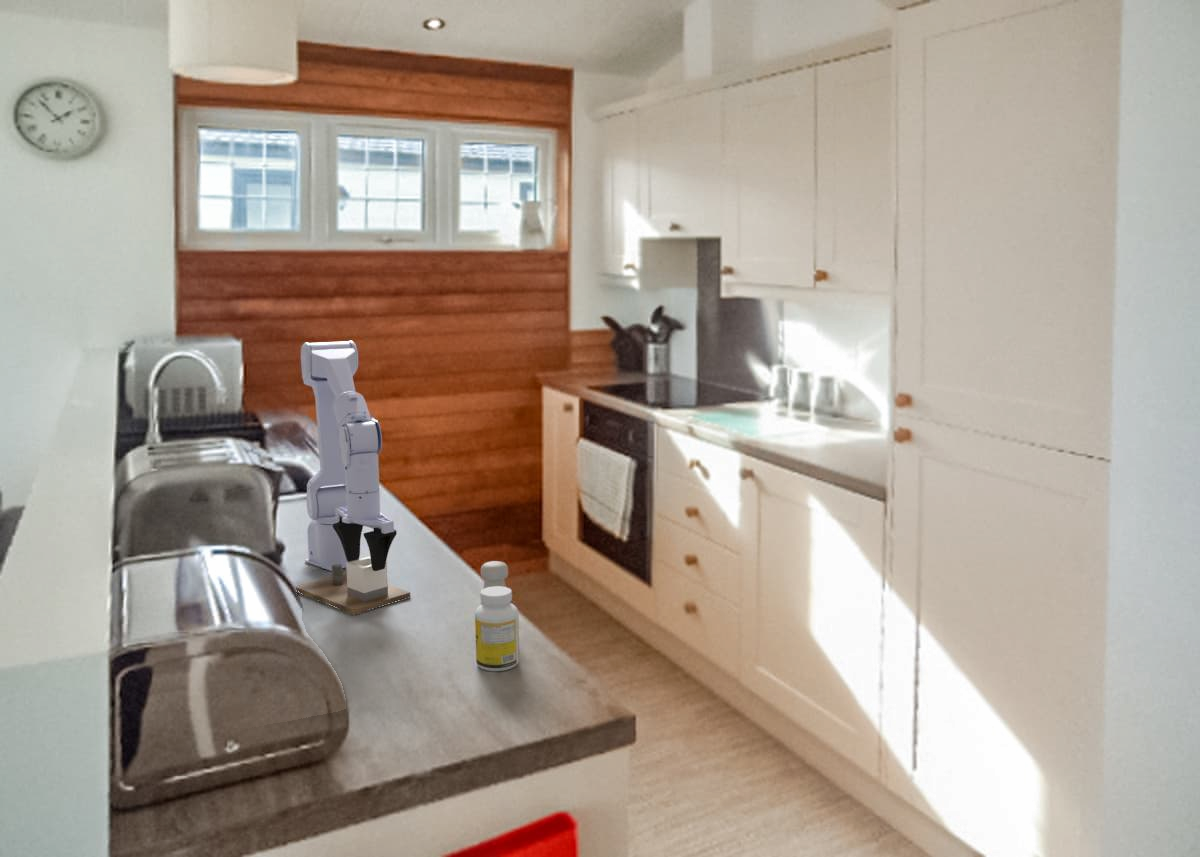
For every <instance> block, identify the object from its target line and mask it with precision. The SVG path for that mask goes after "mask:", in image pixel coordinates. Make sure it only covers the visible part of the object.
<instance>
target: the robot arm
mask: <svg viewBox="0 0 1200 857" xmlns="http://www.w3.org/2000/svg"><path fill="white" fill-rule="evenodd" d="M357 347H358V346H357V345H356V343H355V342H354V341H353V340H352V339H351V340H348V341H347V340H346V341H327V342H326V341H324V342H308V341H307V342H306V341H305V342H304V343H303V344H302V346H301V348H300V365H301V367H300V368H301V378H302V380H303V384H304V385H306V386H308V387H311V388H312V390H313V391H312V392H313V396H314V398H315V399H314V400H315V413H316V427H317V442H318V454H319V455H318V456H319V457H318V458H319V466H320V467H319V469H320V470H318V472H316V473H315V474H314V475H313V476H312V477H311V478H309V480H308V482H307V484H306V496H305V497H306V501H305V502H306V509H307V515H308V517H309V518H310V519H311V521H310V522H309V525H308V527H307V530H306V531H307V533H306V536H307V550H308V558H305V559H304V562H305V563H307V564H311V565H313V566H315V567H316V566H317V567H318V568H321V569H325V570H327V571H330V572H332V565H336V564H340V565H342V569H347V567H346V563H347V562H351V561H354V560H358V559H362V558H361V557H360V554H361V538H362V532H363V529H364V527H367V528H370V529H373V530H372V531H367V532H364V533H363V537H364V539H365V542H366V543H367V547H368V550H369V556H370V557H371V565H372V569H373V571H378V570H382V569H385V565H386V562H387V559H388V555H389V551H390V548H391V546H392V543H393V541H394V539H395V537H396V536H397V529H395V527H394V526H395V523H394V521H395V520H391V519H389V517H387V516H385V515H384V514H383V513H382V512H381V500H380V498H381V497H380V496H381V494H380V472H379V470H380V468H379V454H380V453H381V452H382V449H383V436H382V434H383V433H382V430H381V429H382V428H381V426H380V423H379V421H378V419H375V417H371V413H370V411H369V408H368V404H367V402H366V400H365V397H364V395H362V394H361V393H360V392H357V391H356V387H355V384H354V383H355V382H354V378H353V377H354V376H355V374H356V372H357V370H358V368H359V352H358V348H357Z"/></svg>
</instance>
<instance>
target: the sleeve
mask: <svg viewBox="0 0 1200 857" xmlns="http://www.w3.org/2000/svg"><path fill="white" fill-rule="evenodd" d="M387 563H388V562H387V561H386V565H385V569H382V570H378V571H373V569H372V565H371V557H370V555H369V556H366V557H365V556H364V557H362V558H361V559H358V560H354V561H351V562H347V563H346V573H347V589H348V595H349V596H351V597H354V598H357V599H359V600H362V601H368V600H371V599H375V598H378V597H381V596H384V595H388V585H389V584H388V583H389V582H388V564H387Z"/></svg>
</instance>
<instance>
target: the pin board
mask: <svg viewBox="0 0 1200 857" xmlns="http://www.w3.org/2000/svg"><path fill="white" fill-rule="evenodd" d="M331 573H332V576H330V577H325V578H323V579H318V580H315V581H312V582H311V581H310V582H307V583H304V584H301V585H297V586H295V588H296V589H295V591H296V590H297V592H298V591H299V592H300V593H302V594H303V595H302V594H301V595H302V596H304V595H306V596H305V597H307V598H309V597H311V598H310V599H312V598H313V599H312V600H314V599H316V600H315V601H317V600H319V601H321V602H320V603H322V602H324V603H327V604H330V605H332V606H335V607H337V608H339V609H338V610H340V609H341V610H340V611H342V610H344V611H343V612H345V611H346V612H345V613H347V612H349V613H348V614H350V613H351V615H352V614H354V615H353V616H356V615H359V614H358V613H360V612H363V613H365V612H364V611H366V612H368V611H367V610H369V609H372V608H376V607H379V606H382V605H385V604H388V603H392V602H395V601H398V600H401V601H403V600H402V599H405V598H408V597H410V598H411V592H410V591H408V590H404V589H401V588H399V587H396V586H393V585H390V584H388V595H384V596H381V597H378V598H375V599H371V600H368V601H362V600H359V599H357V598H354V597H351V596H349V595H348V589H347V572H344V573H343V568H342V565H340V564H336V565H332V571H331ZM297 592H296V593H297ZM408 599H409V598H408ZM405 600H406V599H405ZM319 601H318V602H319ZM398 602H399V601H398ZM324 603H323V604H324ZM395 603H396V602H395ZM327 604H326V605H327ZM392 604H393V603H392ZM332 606H331V607H332ZM385 606H386V605H385ZM335 607H334V608H335ZM382 607H383V606H382ZM337 608H336V609H337ZM379 608H380V607H379ZM376 609H377V608H376ZM372 610H373V609H372ZM369 611H370V610H369ZM355 614H356V615H355ZM360 614H361V613H360Z"/></svg>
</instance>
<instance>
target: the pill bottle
mask: <svg viewBox="0 0 1200 857" xmlns="http://www.w3.org/2000/svg"><path fill="white" fill-rule="evenodd" d="M479 596H480V603H481V602H482V605H481V604H480V605H479V606H478V607H477V608H476V610H475V613H474V625H475V626H474V627H475V629H474V630H475V659H476V660H475V662H476V665H477V667H479V668H480V669H482V670H484V671H488V672H504V671H508V670H510V669H511V670H512V669H513V668H514V667H516V666H517V665H518V664H519V661H520V641H519V640H520V638H519V637H520V636H519V635H520V633H519V632H520V631H519V624H520V623H519V611H518V610H519V609H518V607H517V606H516V605H515V604H513V603H511V601H512V599H513V591H512V589H511V588H510V587H507V586H506V587H502V586H493V587H487V588H484V589H483V588H482V589H481V591H480V594H479Z"/></svg>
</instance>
